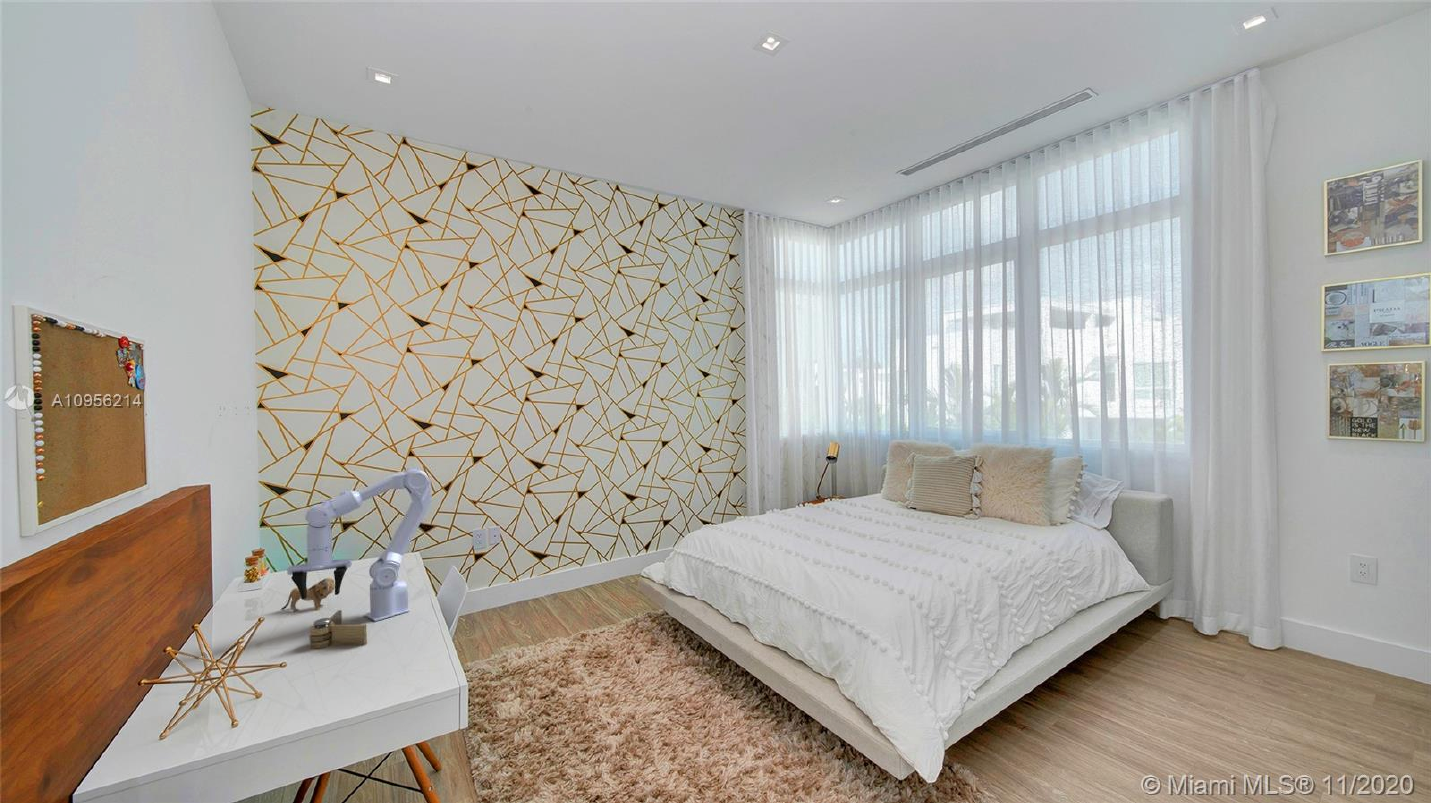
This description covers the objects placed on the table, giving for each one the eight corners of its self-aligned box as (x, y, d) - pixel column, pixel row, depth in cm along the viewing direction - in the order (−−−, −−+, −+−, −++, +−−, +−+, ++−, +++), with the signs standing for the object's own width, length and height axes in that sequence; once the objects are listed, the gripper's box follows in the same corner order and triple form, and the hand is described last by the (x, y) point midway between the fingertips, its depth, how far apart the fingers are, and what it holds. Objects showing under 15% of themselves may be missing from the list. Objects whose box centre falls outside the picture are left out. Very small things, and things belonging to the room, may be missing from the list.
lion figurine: (338, 603, 173) (338, 574, 173) (331, 609, 168) (330, 580, 168) (285, 608, 169) (284, 579, 169) (276, 614, 164) (275, 585, 164)
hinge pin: (328, 640, 145) (328, 616, 145) (333, 643, 142) (332, 619, 142) (312, 645, 142) (312, 621, 142) (316, 648, 139) (316, 624, 139)
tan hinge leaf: (305, 648, 140) (305, 629, 140) (321, 640, 145) (320, 621, 145) (358, 648, 139) (358, 629, 139) (372, 640, 144) (371, 621, 144)
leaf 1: (329, 645, 140) (329, 628, 140) (307, 648, 139) (306, 631, 139) (350, 624, 154) (350, 608, 154) (330, 626, 153) (329, 611, 153)
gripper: (283, 554, 145) (284, 605, 145) (347, 547, 151) (348, 595, 151) (291, 548, 152) (292, 596, 152) (352, 541, 158) (353, 588, 158)
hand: (320, 595), depth 152 cm, fingers open, 7 cm apart
